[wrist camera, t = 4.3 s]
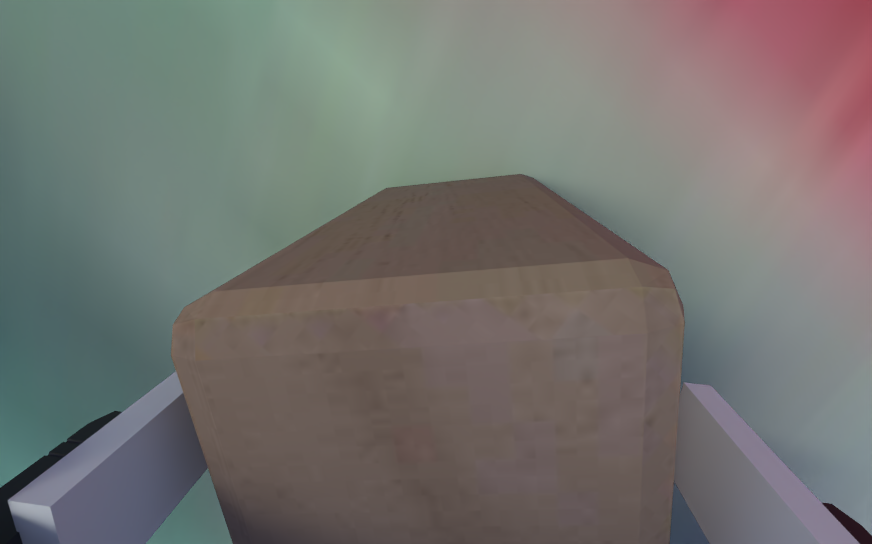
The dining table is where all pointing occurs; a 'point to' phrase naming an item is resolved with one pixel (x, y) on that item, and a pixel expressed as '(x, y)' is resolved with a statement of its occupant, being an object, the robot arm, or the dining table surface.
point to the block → (441, 377)
